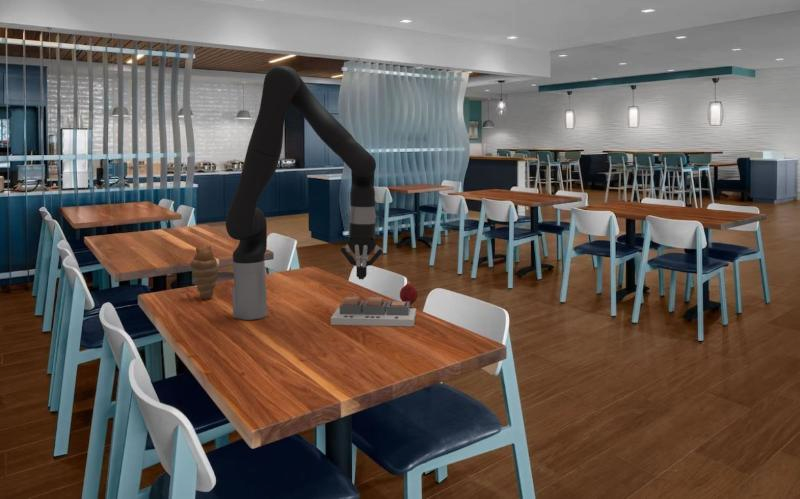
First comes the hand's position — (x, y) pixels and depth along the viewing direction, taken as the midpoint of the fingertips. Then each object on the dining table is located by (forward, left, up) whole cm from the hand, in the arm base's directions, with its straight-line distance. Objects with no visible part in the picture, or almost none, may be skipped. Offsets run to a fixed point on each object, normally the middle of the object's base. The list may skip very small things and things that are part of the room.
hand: (361, 278), depth 179 cm
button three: (+4, 0, -8) cm, 9 cm away
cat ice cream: (-56, +18, -12) cm, 60 cm away
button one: (+11, 0, -9) cm, 14 cm away
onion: (+13, +14, -12) cm, 23 cm away
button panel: (+4, -2, -12) cm, 13 cm away
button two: (-3, 0, -8) cm, 9 cm away
